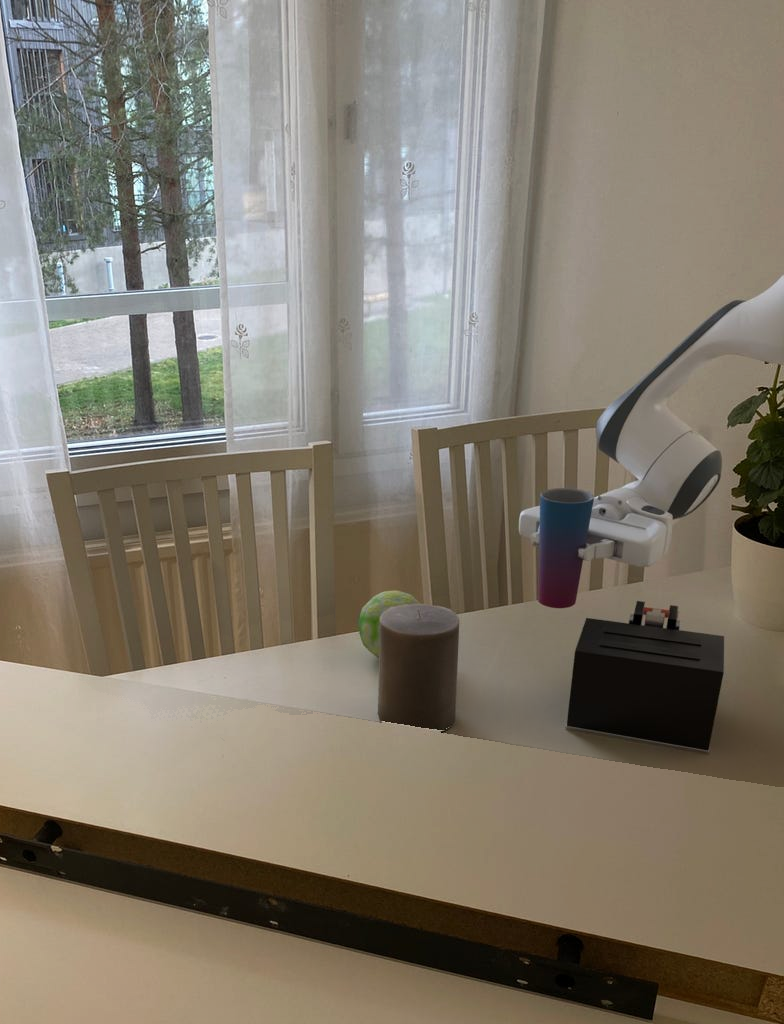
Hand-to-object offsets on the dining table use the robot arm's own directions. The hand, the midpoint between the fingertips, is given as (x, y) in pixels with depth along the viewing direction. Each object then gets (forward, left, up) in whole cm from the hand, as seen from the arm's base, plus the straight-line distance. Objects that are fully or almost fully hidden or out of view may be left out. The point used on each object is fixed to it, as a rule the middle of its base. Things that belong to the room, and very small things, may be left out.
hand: (558, 547), depth 121 cm
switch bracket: (-13, +5, -17) cm, 22 cm away
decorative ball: (+21, +6, -17) cm, 28 cm away
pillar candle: (+13, +21, -17) cm, 30 cm away
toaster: (-13, +13, -17) cm, 25 cm away
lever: (-13, +1, -9) cm, 16 cm away
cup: (0, -1, -8) cm, 8 cm away
